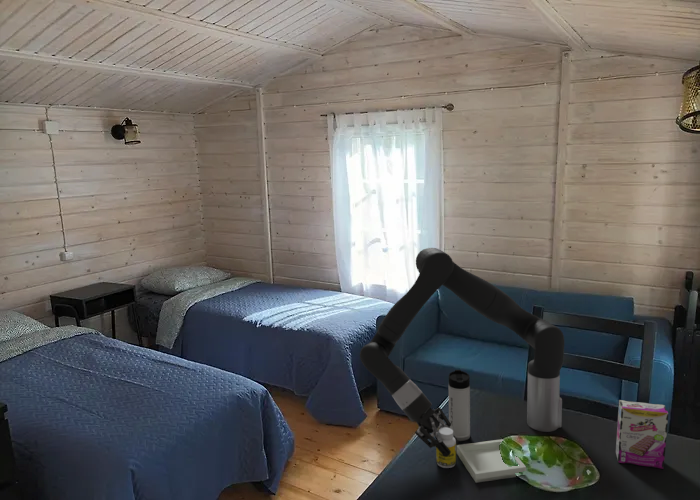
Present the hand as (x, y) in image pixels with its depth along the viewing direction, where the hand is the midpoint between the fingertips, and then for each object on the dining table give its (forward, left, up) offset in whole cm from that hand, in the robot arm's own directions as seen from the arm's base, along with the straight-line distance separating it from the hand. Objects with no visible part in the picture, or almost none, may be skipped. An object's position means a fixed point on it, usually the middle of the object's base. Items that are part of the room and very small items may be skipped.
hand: (452, 449), depth 142 cm
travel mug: (-7, -14, -5) cm, 17 cm away
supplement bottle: (+1, -1, -5) cm, 5 cm away
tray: (-10, +2, -5) cm, 11 cm away
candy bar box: (-50, +10, -5) cm, 51 cm away
